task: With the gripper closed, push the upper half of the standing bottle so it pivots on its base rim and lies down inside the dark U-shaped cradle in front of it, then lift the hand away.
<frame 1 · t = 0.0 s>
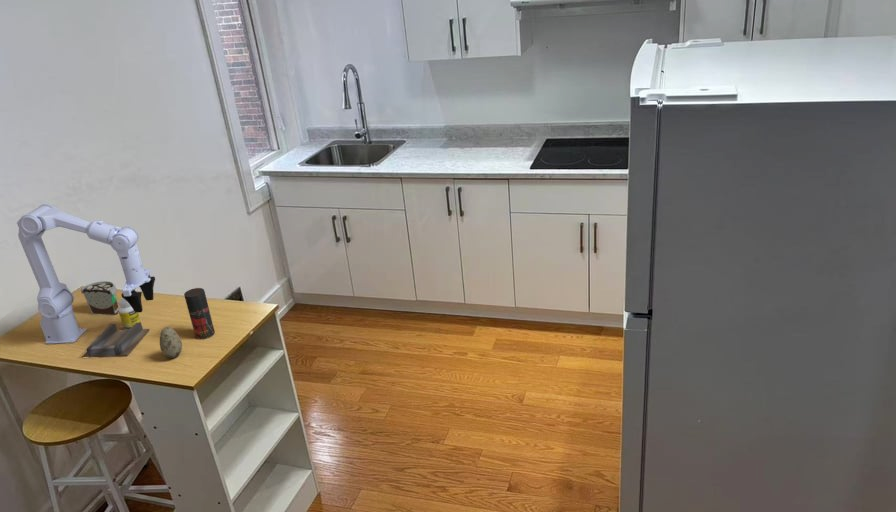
hand: (144, 305, 207), 10 cm above the table, tool pointing down, fingers open, 7 cm apart
bottle rest: (117, 343, 207), on the table
food container: (110, 310, 228), on the table
deodorant: (205, 334, 209), on the table
decorative egg: (174, 356, 198), on the table
supplement bottle: (133, 327, 217), on the table
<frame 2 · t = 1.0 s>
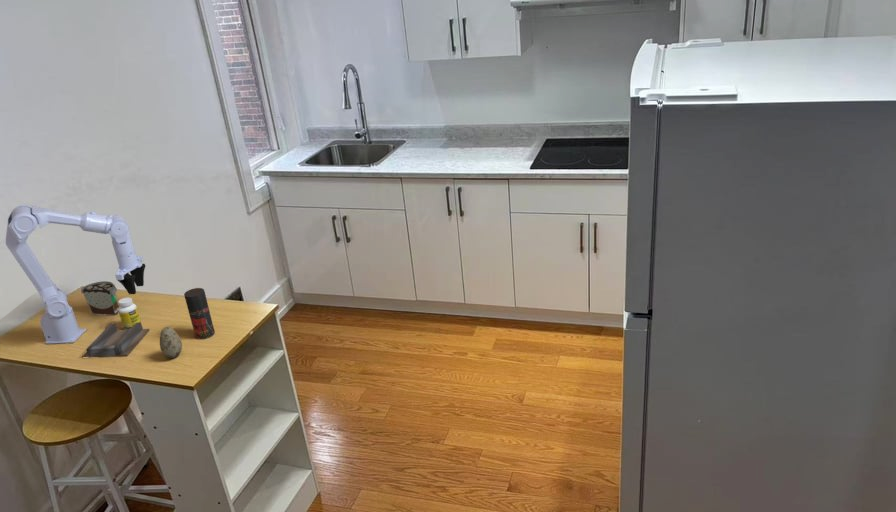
hand: (136, 289, 220), 9 cm above the table, tool pointing down, fingers open, 5 cm apart
nothing on the table moved.
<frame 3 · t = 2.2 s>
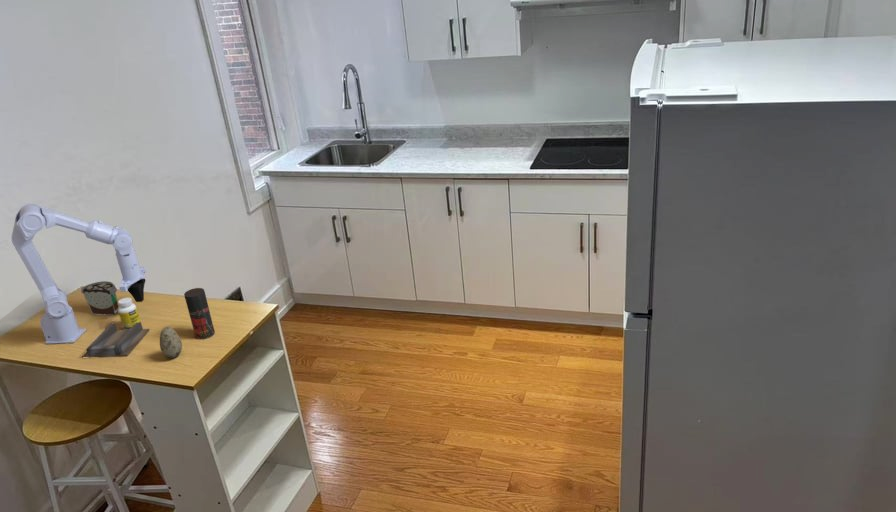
hand: (140, 300, 222), 5 cm above the table, tool pointing down, fingers closed
nothing on the table moved.
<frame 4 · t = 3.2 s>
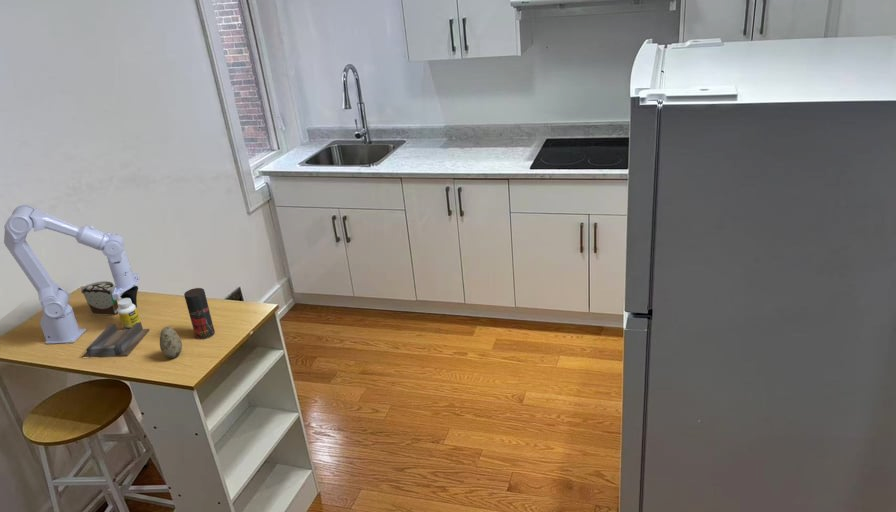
hand: (133, 308, 217), 5 cm above the table, tool pointing down, fingers closed
supplement bottle: (132, 326, 217), on the table, touching gripper
everything else where it was.
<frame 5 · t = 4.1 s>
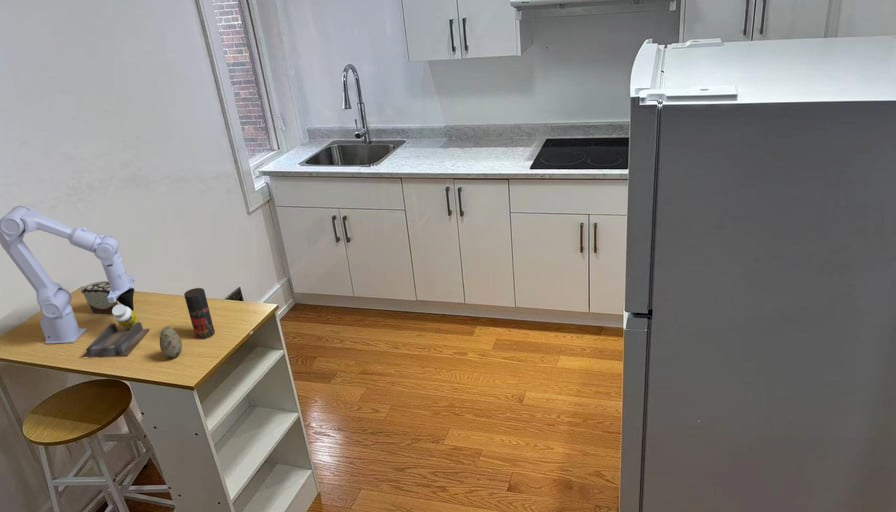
hand: (130, 311, 214), 6 cm above the table, tool pointing down, fingers closed, pressing on supplement bottle
supplement bottle: (132, 323, 216), point 1 cm above the table, touching bottle rest, gripper
everything else where it was.
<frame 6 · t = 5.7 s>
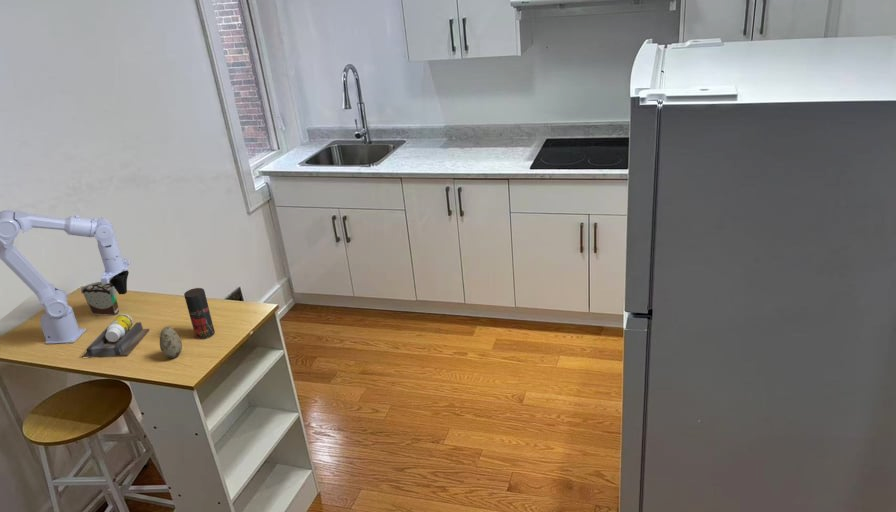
hand: (123, 293, 217), 10 cm above the table, tool pointing down, fingers closed
supplement bottle: (125, 320, 214), point 3 cm above the table, touching bottle rest
everything else where it was.
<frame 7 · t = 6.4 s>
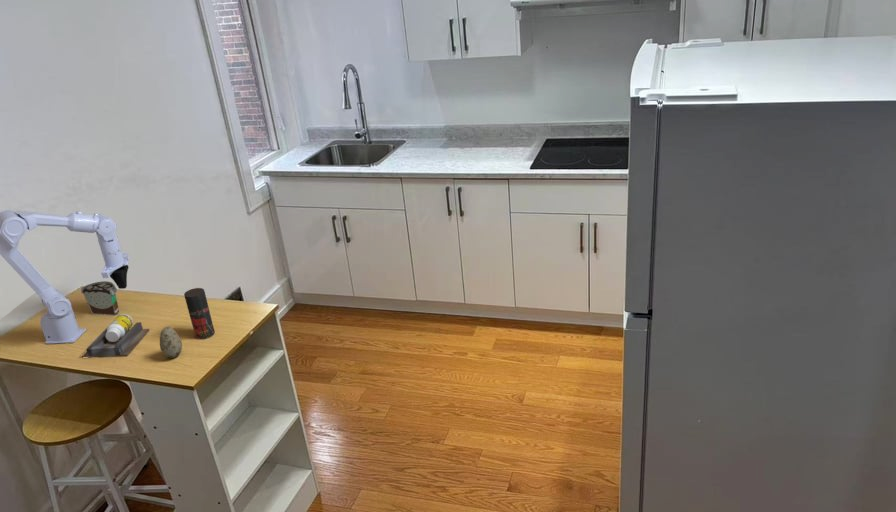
hand: (123, 287, 221), 10 cm above the table, tool pointing down, fingers closed
nothing on the table moved.
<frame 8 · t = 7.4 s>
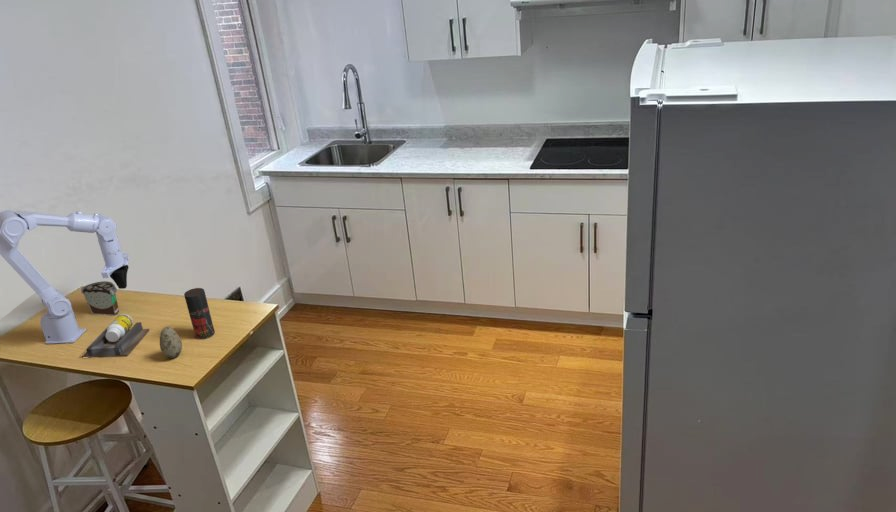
hand: (123, 287, 221), 10 cm above the table, tool pointing down, fingers closed
nothing on the table moved.
at the end: supplement bottle tilted 91°; supplement bottle inside the target area on the bottle rest (8.0 cm from its centre), point 3.3 cm above the bottle rest's base; supplement bottle touching bottle rest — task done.
